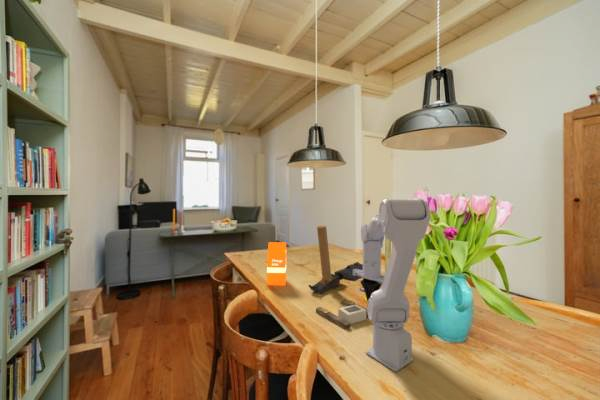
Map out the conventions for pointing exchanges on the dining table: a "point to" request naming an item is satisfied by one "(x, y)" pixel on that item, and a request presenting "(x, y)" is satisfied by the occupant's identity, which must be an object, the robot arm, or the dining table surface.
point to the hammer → (325, 265)
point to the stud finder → (352, 313)
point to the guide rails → (335, 318)
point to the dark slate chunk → (351, 271)
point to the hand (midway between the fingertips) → (371, 302)
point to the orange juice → (276, 263)
